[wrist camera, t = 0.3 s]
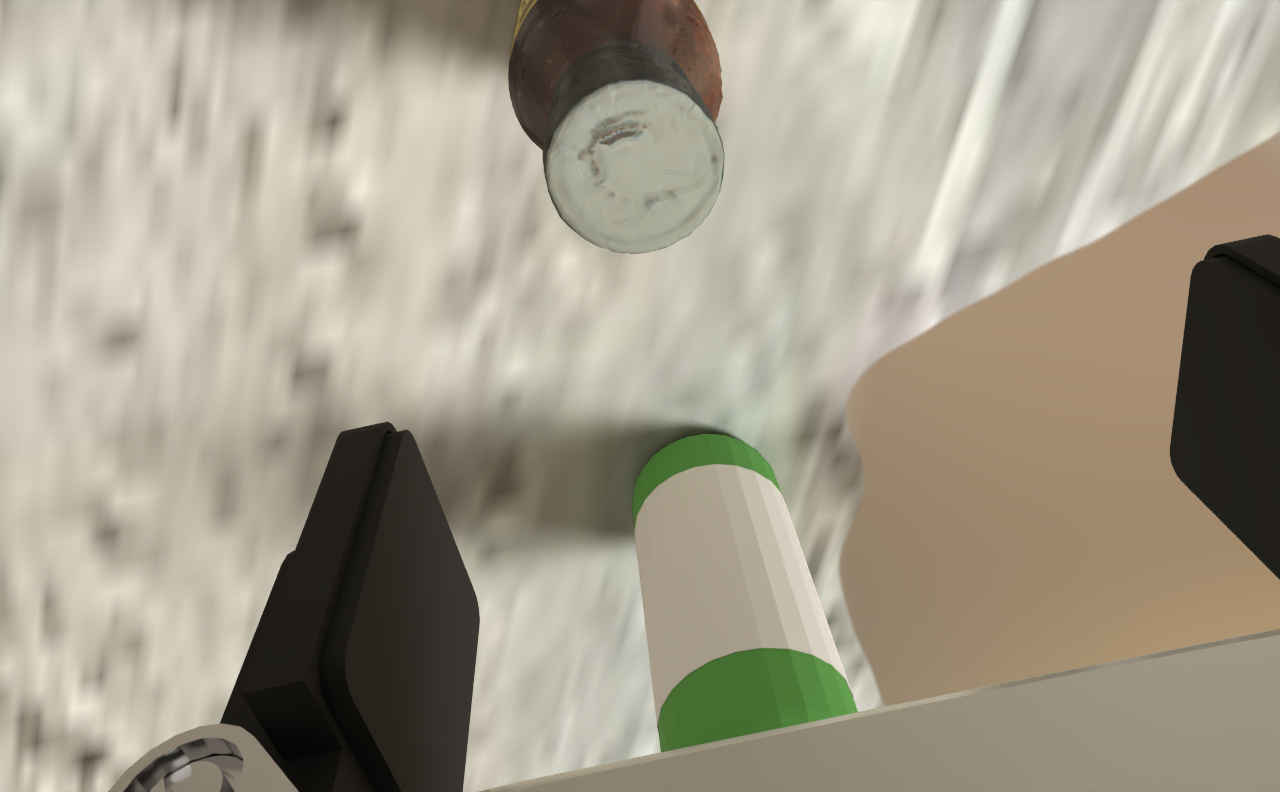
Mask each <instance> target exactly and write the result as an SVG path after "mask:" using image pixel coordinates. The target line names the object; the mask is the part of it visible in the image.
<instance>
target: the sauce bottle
mask: <svg viewBox="0 0 1280 792" xmlns="http://www.w3.org/2000/svg"><path fill="white" fill-rule="evenodd" d="M508 78H509V91H510V97H511V101H512V105H513V108H514V111H515V114H516V116H517V118H518V121H519V123H520V125H521V127H522V128H523V130H524V131H525V133H526V134H527V135H528V136H529V138H530V139H531V140H532V141H533V142H534V143H535V144H536V145H537V146H538V147H539V148H540V149H542V150H543V164H544V173H545V178H546V182H547V187H548V192H549V194H550V197H551V200H552V202H553V204H554V206H555V208H556V210H557V212H558V214H559V216H560V218H561V219H562V220H563V221H564V222H565V223H566V224H567V225H568V226H569V227H570V228H571V229H573V230H574V231H575V232H576V233H577V234H579V235H580V236H581V237H583V238H584V239H586V240H587V241H589V242H591V243H592V244H594V245H596V246H598V247H601V248H605V249H609V250H611V251H613V252H618V253H630V254H638V253H647V252H652V251H656V250H659V249H663V248H666V247H668V246H670V245H673V244H674V243H676V242H677V241H679V240H680V239H682V238H685V237H687V236H689V235H690V234H691V233H692V231H693V230H694V229H695V228H696V227H697V226H699V225H700V224H701V223H702V222H703V220H704V219H705V218H706V216H707V215H708V214H709V212H710V211H711V209H712V207H713V205H714V204H715V202H716V200H717V197H718V195H719V192H720V189H721V184H722V179H723V170H724V150H723V144H722V140H721V137H720V135H719V132H718V127H717V126H716V124H715V122H716V118H717V117H718V112H719V108H720V105H721V101H722V98H723V96H722V90H721V87H722V80H721V67H720V61H719V55H718V52H717V49H716V45H715V42H714V40H713V38H712V35H711V33H710V31H709V28H708V25H707V23H706V21H705V18H704V17H703V15H702V13H701V11H700V9H699V7H698V6H697V5H696V3H695V2H694V0H521V3H520V8H519V12H518V15H517V21H516V26H515V31H514V38H513V42H512V47H511V55H510V61H509V73H508Z"/></svg>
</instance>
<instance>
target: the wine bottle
mask: <svg viewBox="0 0 1280 792" xmlns="http://www.w3.org/2000/svg"><path fill="white" fill-rule="evenodd" d="M632 509H633V518H634V527H635V540H636V549H637V557H638V566H639V574H640V583H641V591H642V600H643V608H644V617H645V625H646V634H647V642H648V651H649V659H650V668H651V676H652V685H653V693H654V702H655V710H656V719H657V727H658V732H659V739H660V748H661V752H666V751H671V750H676V749H680V748H685V747H690V746H695V745H700V744H705V743H710V742H715V741H720V740H724V739H729V738H734V737H739V736H744V735H749V734H754V733H759V732H764V731H769V730H773V729H778V728H783V727H788V726H793V725H798V724H803V723H808V722H813V721H817V720H822V719H827V718H832V717H837V716H842V715H847V714H852V713H857V712H858V711H857V708H856V705H855V702H854V699H853V695H852V692H851V689H850V686H849V683H848V680H847V678H846V675H845V672H844V669H843V666H842V663H841V660H840V657H839V655H838V652H837V649H836V646H835V643H834V640H833V637H832V635H831V632H830V629H829V626H828V623H827V620H826V617H825V615H824V612H823V609H822V606H821V603H820V600H819V597H818V594H817V592H816V589H815V586H814V583H813V580H812V577H811V574H810V572H809V569H808V566H807V563H806V560H805V557H804V554H803V552H802V549H801V546H800V543H799V540H798V537H797V534H796V531H795V529H794V526H793V523H792V520H791V517H790V514H789V511H788V509H787V506H786V504H785V501H784V499H783V496H782V493H781V490H780V487H779V485H778V482H777V480H776V477H775V475H774V473H773V470H772V468H771V466H770V465H769V463H768V462H767V461H766V460H765V459H764V458H763V457H762V455H761V454H760V453H759V452H758V451H757V450H756V449H754V448H752V447H751V446H749V445H748V444H746V443H745V442H743V441H741V440H738V439H735V438H732V437H729V436H726V435H718V434H700V435H694V436H688V437H685V438H682V439H680V440H677V441H675V442H672V443H670V444H668V445H667V446H666V447H664V448H663V449H661V450H660V451H658V452H657V453H655V454H654V456H653V457H652V458H651V459H650V460H649V461H648V462H647V463H646V465H645V466H644V467H643V469H642V471H641V473H640V475H639V477H638V479H637V481H636V483H635V488H634V494H633V500H632Z"/></svg>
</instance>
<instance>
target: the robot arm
mask: <svg viewBox="0 0 1280 792" xmlns="http://www.w3.org/2000/svg"><path fill="white" fill-rule="evenodd" d="M1170 457H1171V463H1172V466H1173V468H1174V471H1175V472H1176V474H1177V476H1178V477H1179V479H1180V480H1181V481H1182V482H1183V483H1184V484H1185V485H1186V486H1187V487H1188V488H1189V489H1190V490H1191V491H1192V492H1193V493H1194V494H1195V495H1196V496H1197V497H1198V498H1199V499H1200V500H1201V501H1202V502H1203V503H1204V504H1205V505H1206V506H1207V507H1208V508H1209V509H1210V510H1211V511H1212V512H1213V513H1214V514H1215V515H1216V516H1217V517H1218V518H1219V519H1220V520H1221V521H1222V522H1223V523H1224V524H1225V525H1226V526H1227V527H1228V528H1229V529H1230V530H1231V531H1232V532H1233V533H1234V534H1235V535H1236V536H1237V537H1238V538H1239V539H1240V540H1241V541H1242V542H1243V543H1244V544H1245V545H1246V546H1247V547H1248V548H1249V549H1250V550H1251V551H1252V552H1253V553H1254V554H1255V555H1256V556H1257V557H1258V558H1259V559H1260V560H1261V561H1262V562H1263V563H1264V564H1265V565H1266V566H1267V567H1268V568H1269V569H1270V570H1271V571H1272V572H1273V573H1274V574H1275V575H1276V576H1277V577H1278V578H1279V579H1280V239H1279V238H1277V237H1275V236H1272V235H1263V236H1258V237H1253V238H1248V239H1243V240H1238V241H1234V242H1229V243H1224V244H1220V245H1216V246H1214V247H1212V248H1211V249H1210V250H1209V251H1208V252H1207V254H1206V256H1205V258H1204V260H1203V261H1200V262H1198V263H1197V264H1196V265H1195V266H1194V268H1193V270H1192V274H1191V280H1190V288H1189V296H1188V305H1187V314H1186V321H1185V329H1184V338H1183V345H1182V353H1181V362H1180V370H1179V378H1178V387H1177V394H1176V403H1175V411H1174V420H1173V427H1172V436H1171V444H1170ZM479 623H480V617H479V607H478V602H477V597H476V594H475V591H474V589H473V586H472V584H471V581H470V579H469V576H468V573H467V571H466V568H465V566H464V563H463V561H462V558H461V556H460V553H459V551H458V548H457V546H456V543H455V540H454V538H453V535H452V533H451V530H450V528H449V525H448V523H447V520H446V518H445V515H444V512H443V510H442V507H441V505H440V502H439V500H438V497H437V495H436V492H435V490H434V487H433V485H432V482H431V479H430V477H429V474H428V472H427V469H426V467H425V464H424V462H423V459H422V457H421V454H420V451H419V449H418V446H417V444H416V441H415V439H414V437H413V435H412V434H411V432H410V431H408V430H404V431H399V432H397V431H396V429H395V428H394V426H393V425H392V424H391V423H389V422H384V423H380V424H375V425H370V426H365V427H361V428H356V429H351V430H347V431H343V432H341V433H340V434H339V436H338V438H337V441H336V443H335V446H334V449H333V451H332V454H331V457H330V459H329V462H328V465H327V467H326V470H325V473H324V475H323V478H322V481H321V483H320V486H319V489H318V491H317V494H316V497H315V499H314V502H313V504H312V507H311V510H310V512H309V515H308V518H307V520H306V523H305V526H304V528H303V531H302V534H301V536H300V539H299V542H298V544H297V547H296V550H294V551H293V552H291V553H289V554H288V555H287V556H286V558H285V560H284V561H283V563H282V565H281V567H280V570H279V573H278V575H277V578H276V580H275V583H274V585H273V588H272V591H271V593H270V596H269V598H268V601H267V604H266V606H265V609H264V611H263V614H262V616H261V619H260V622H259V624H258V627H257V629H256V632H255V634H254V637H253V640H252V642H251V645H250V647H249V650H248V652H247V655H246V658H245V660H244V663H243V665H242V668H241V670H240V673H239V676H238V678H237V681H236V683H235V686H234V688H233V691H232V694H231V696H230V699H229V701H228V704H227V707H226V709H225V712H224V714H223V717H222V719H221V722H220V724H215V725H207V726H200V727H197V728H194V729H192V730H189V731H186V732H184V733H181V734H178V735H175V736H174V737H172V738H170V739H169V740H167V741H165V742H163V743H162V744H160V745H158V746H157V747H155V748H153V749H152V750H150V751H149V752H148V753H146V754H145V755H144V756H143V757H142V758H140V759H139V760H138V761H137V762H136V763H134V764H133V765H132V766H131V767H129V768H128V769H127V770H126V771H125V773H124V774H123V775H122V776H121V777H120V778H119V780H118V781H117V782H116V783H115V784H114V785H113V787H112V788H111V789H110V790H109V791H108V792H463V782H464V773H465V763H466V753H467V743H468V733H469V723H470V713H471V703H472V693H473V683H474V674H475V664H476V654H477V644H478V634H479ZM480 792H1280V629H1277V630H1273V631H1267V632H1262V633H1257V634H1252V635H1247V636H1241V637H1236V638H1231V639H1226V640H1221V641H1216V642H1210V643H1205V644H1200V645H1195V646H1189V647H1184V648H1179V649H1174V650H1169V651H1164V652H1159V653H1154V654H1148V655H1143V656H1139V657H1133V658H1128V659H1123V660H1118V661H1113V662H1108V663H1103V664H1098V665H1093V666H1088V667H1083V668H1078V669H1073V670H1067V671H1062V672H1057V673H1052V674H1047V675H1042V676H1038V677H1032V678H1027V679H1022V680H1017V681H1012V682H1007V683H1002V684H997V685H992V686H987V687H982V688H977V689H972V690H967V691H962V692H957V693H952V694H947V695H942V696H937V697H932V698H927V699H922V700H917V701H911V702H906V703H901V704H896V705H892V706H886V707H881V708H876V709H871V710H866V711H862V712H857V713H852V714H847V715H842V716H837V717H832V718H827V719H822V720H817V721H813V722H808V723H803V724H798V725H793V726H788V727H783V728H778V729H773V730H769V731H764V732H759V733H754V734H749V735H744V736H739V737H734V738H729V739H724V740H720V741H715V742H710V743H705V744H700V745H695V746H690V747H685V748H680V749H676V750H671V751H666V752H661V753H656V754H651V755H646V756H641V757H636V758H631V759H627V760H622V761H617V762H612V763H607V764H603V765H598V766H593V767H588V768H583V769H579V770H574V771H569V772H564V773H560V774H555V775H550V776H545V777H540V778H536V779H531V780H526V781H521V782H517V783H513V784H509V785H505V786H501V787H496V788H492V789H488V790H484V791H480Z"/></svg>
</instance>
